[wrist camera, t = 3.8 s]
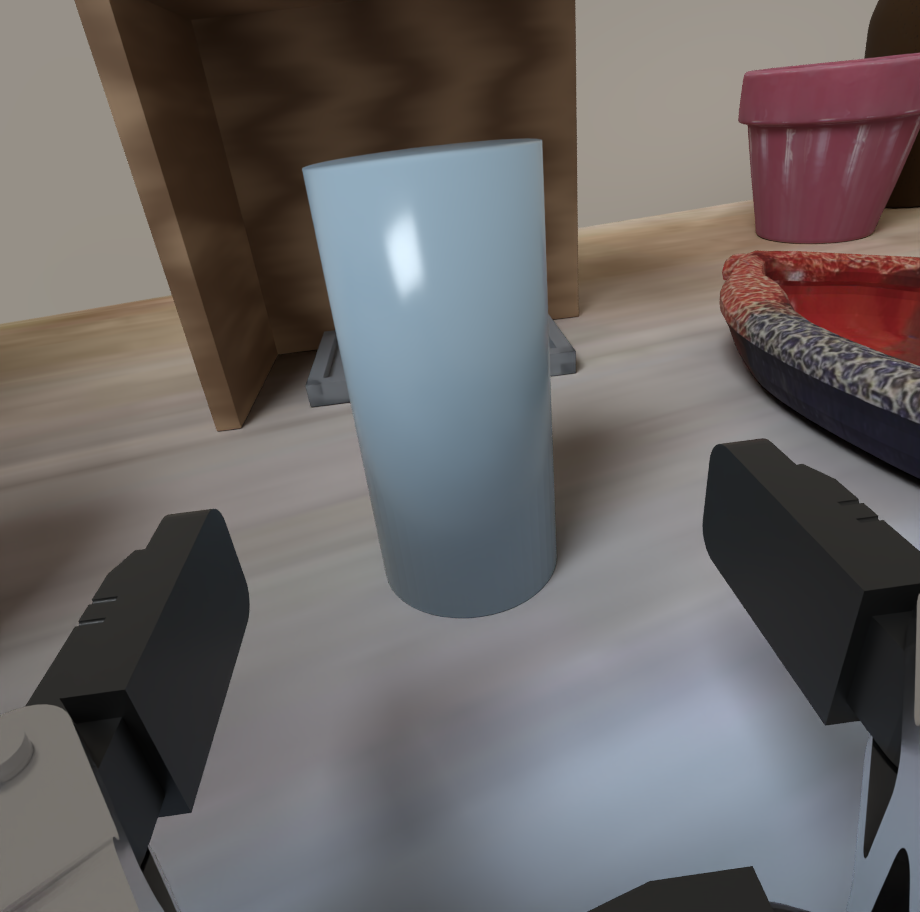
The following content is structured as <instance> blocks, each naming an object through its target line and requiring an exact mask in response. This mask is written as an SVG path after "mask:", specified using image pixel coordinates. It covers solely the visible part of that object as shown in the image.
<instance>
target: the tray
mask: <svg viewBox="0 0 920 912" xmlns="http://www.w3.org/2000/svg"><path fill="white" fill-rule="evenodd" d="M548 324H549V353H550V376H554V375H562V374H570V373H576V351H575V350H574V348H573V347H572V346H571V344H570V343H569V341H568V340H567V339H566V337H565V336H564V335H563V333H562V332H561V330H560V329H559V328H558V326H557V325H556V324H555V322H554V321H553V320H552V318H551V317H550V315H549V314H548ZM306 390H307V394H308V398H309V402H310V406H311V407H315V406H323V405H331V404H338V403H346V402H350V398H349V393H348V389H347V384H346V379H345V374H344V369H343V364H342V360H341V355H340V350H339V345H338V340H337V336H336V331H335V330H333V331H325V332H324V334H323V337H322V339H321V342H320V345H319V348H318V351H317V354H316V357H315V360H314V363H313V366H312V369H311V372H310V375H309V377H308V380H307V383H306Z"/></svg>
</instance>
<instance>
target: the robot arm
mask: <svg viewBox="0 0 920 912" xmlns="http://www.w3.org/2000/svg"><path fill="white" fill-rule="evenodd" d="M703 536H704V541H705V545H706V549H707V551H708V554H709V556H710V558H711V560H712V561H713V563H714V564H715V566H716V567H717V569H718V570H719V572H720V573H721V575H722V576H723V577H724V579H725V580H726V582H727V583H728V585H729V586H730V588H731V589H732V591H733V592H734V593H735V595H736V596H737V598H738V599H739V601H740V602H741V604H742V605H743V607H744V608H745V609H746V611H747V612H748V614H749V615H750V617H751V618H752V620H753V621H754V623H755V624H756V625H757V627H758V628H759V630H760V631H761V633H762V634H763V636H764V637H765V639H766V640H767V641H768V643H769V644H770V646H771V647H772V649H773V650H774V652H775V653H776V655H777V656H778V657H779V659H780V660H781V662H782V663H783V665H784V666H785V668H786V669H787V671H788V672H789V673H790V675H791V676H792V678H793V679H794V681H795V682H796V684H797V685H798V687H799V688H800V689H801V691H802V692H803V694H804V695H805V697H806V698H807V700H808V701H809V703H810V704H811V705H812V707H813V708H814V710H815V711H816V713H817V714H818V716H819V717H820V719H821V720H822V721H823V723H824V724H825V726H826V725H833V724H840V723H847V722H854V721H861V722H862V724H863V725H864V726H865V728H866V729H867V730H868V732H869V733H870V737H869V740H868V742H867V745H866V750H865V757H864V768H863V779H862V789H861V800H860V811H859V821H858V832H857V843H856V854H855V864H854V873H853V880H852V886H851V892H850V896H849V901H848V905H847V909H846V912H920V551H919V550H918V549H916V548H915V547H914V546H913V545H912V544H911V543H909V542H908V541H907V540H906V539H905V538H904V537H902V536H901V535H900V534H899V533H898V532H897V531H895V530H894V529H893V528H892V527H891V526H890V525H888V524H887V523H886V522H885V521H884V520H880V521H879V519H878V515H877V514H875V513H874V512H873V511H872V510H871V509H870V508H868V507H867V506H866V505H865V504H864V503H859V499H858V498H857V497H856V496H854V495H853V494H852V493H851V492H850V491H849V490H847V489H846V488H845V487H844V486H843V485H842V484H840V483H839V482H838V481H837V480H836V479H834V478H832V477H830V476H827V475H825V474H823V473H821V472H819V471H817V470H815V469H812V468H810V467H808V466H806V465H804V464H799V465H796V464H795V463H794V462H793V461H791V460H790V459H789V458H788V457H787V456H786V455H785V454H784V453H783V452H782V451H780V450H779V449H778V448H777V447H776V446H775V445H774V444H773V443H772V442H770V441H769V440H767V439H755V440H747V441H739V442H732V443H724V444H718V445H716V446H715V447H714V448H713V450H712V452H711V455H710V462H709V471H708V480H707V488H706V497H705V506H704V515H703ZM92 601H93V603H92V604H91V605H88V607H87V608H86V610H85V612H84V613H83V615H82V616H81V618H80V620H79V626H77V627H75V628H74V629H73V631H72V632H71V634H70V636H69V637H68V639H67V640H66V642H65V644H64V645H63V647H62V648H61V650H60V652H59V653H58V655H57V656H56V658H55V660H54V661H53V663H52V664H51V666H50V668H49V669H48V671H47V672H46V674H45V676H44V677H43V679H42V680H41V682H40V684H39V685H38V687H37V688H36V690H35V692H34V693H33V695H32V697H31V698H30V700H29V701H28V703H27V705H26V706H25V707H22V708H19V709H15V710H13V711H10V712H8V713H5V714H3V715H1V716H0V912H181V911H180V908H179V906H178V904H177V902H176V900H175V897H174V895H173V893H172V891H171V888H170V886H169V884H168V882H167V880H166V877H165V875H164V873H163V871H162V869H161V866H160V864H159V862H158V860H157V858H156V855H155V853H154V852H153V850H152V848H151V847H150V845H149V842H150V839H151V836H152V833H153V830H154V827H155V824H156V821H157V818H158V817H165V816H172V815H179V814H186V813H191V812H192V809H193V805H194V802H195V798H196V795H197V792H198V788H199V785H200V781H201V778H202V775H203V771H204V768H205V765H206V761H207V758H208V754H209V751H210V748H211V744H212V741H213V737H214V734H215V731H216V727H217V724H218V721H219V717H220V714H221V710H222V707H223V704H224V700H225V697H226V693H227V690H228V687H229V683H230V680H231V677H232V673H233V670H234V666H235V663H236V660H237V656H238V653H239V649H240V646H241V643H242V639H243V636H244V633H245V629H246V626H247V622H248V618H249V592H248V587H247V583H246V580H245V577H244V574H243V571H242V568H241V566H240V563H239V560H238V557H237V554H236V551H235V548H234V546H233V543H232V540H231V537H230V534H229V531H228V529H227V526H226V523H225V520H224V518H223V516H222V514H221V513H220V512H219V511H218V510H217V509H209V510H201V511H193V512H186V513H178V514H170V515H167V516H165V517H164V518H163V519H162V521H161V523H160V524H159V526H158V528H157V530H156V531H155V533H154V535H153V537H152V538H151V540H150V542H149V543H148V545H147V547H146V549H143V550H135V551H134V552H133V553H132V554H130V555H129V556H128V557H127V558H126V559H125V560H124V561H122V562H121V563H120V564H119V565H118V566H117V567H115V568H114V569H113V570H112V571H111V572H110V573H109V574H108V575H107V576H106V578H105V580H104V581H103V583H102V584H101V586H100V588H99V589H98V591H97V592H96V594H95V596H94V597H93V599H92ZM588 912H810V911H806V910H803V909H799V908H795V907H792V906H788V905H785V904H781V903H775V902H769V901H768V898H767V896H766V894H765V892H764V890H763V888H762V886H761V883H760V881H759V879H758V877H757V875H756V873H755V870H754V868H753V866H750V867H743V868H736V869H730V870H723V871H716V872H709V873H702V874H696V875H689V876H682V877H675V878H668V879H662V880H655V881H649V882H647V883H645V884H643V885H641V886H639V887H637V888H635V889H633V890H631V891H629V892H627V893H625V894H623V895H621V896H618V897H616V898H614V899H612V900H610V901H608V902H606V903H604V904H602V905H600V906H598V907H596V908H594V909H592V910H590V911H588Z"/></svg>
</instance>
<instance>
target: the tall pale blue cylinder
mask: <svg viewBox="0 0 920 912" xmlns="http://www.w3.org/2000/svg"><path fill="white" fill-rule="evenodd" d="M302 172H303V176H304V181H305V186H306V191H307V196H308V200H309V205H310V210H311V215H312V220H313V225H314V229H315V234H316V239H317V244H318V249H319V254H320V258H321V263H322V268H323V273H324V278H325V282H326V287H327V292H328V297H329V302H330V307H331V311H332V316H333V321H334V326H335V331H336V336H337V340H338V345H339V350H340V355H341V360H342V364H343V369H344V374H345V379H346V384H347V389H348V393H349V398H350V403H351V408H352V413H353V417H354V422H355V427H356V432H357V437H358V442H359V446H360V451H361V456H362V461H363V466H364V471H365V475H366V480H367V485H368V490H369V495H370V499H371V504H372V509H373V514H374V519H375V524H376V528H377V533H378V538H379V543H380V548H381V553H382V557H383V562H384V567H385V572H386V576H387V580H388V583H389V585H390V587H391V588H392V590H393V591H394V592H395V594H396V595H397V596H398V597H399V598H400V599H402V600H403V601H404V602H405V603H407V604H409V605H410V606H412V607H414V608H416V609H418V610H420V611H423V612H426V613H429V614H433V615H437V616H442V617H452V618H472V617H481V616H487V615H492V614H496V613H499V612H503V611H506V610H508V609H511V608H513V607H516V606H518V605H519V604H521V603H523V602H525V601H527V600H528V599H530V598H531V597H533V596H534V595H535V594H536V593H538V592H539V591H540V590H541V589H542V588H543V587H544V586H545V584H546V583H547V582H548V581H549V579H550V577H551V576H552V574H553V571H554V569H555V566H556V560H557V556H556V527H555V498H554V469H553V440H552V411H551V382H550V353H549V324H548V295H547V266H546V237H545V208H544V178H543V149H542V140H541V139H531V138H524V139H501V140H487V141H475V142H464V143H453V144H444V145H435V146H426V147H417V148H409V149H401V150H394V151H386V152H379V153H372V154H366V155H359V156H353V157H347V158H341V159H336V160H330V161H325V162H321V163H316V164H312V165H309V166H306V167H303V168H302Z"/></svg>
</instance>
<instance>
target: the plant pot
mask: <svg viewBox="0 0 920 912" xmlns="http://www.w3.org/2000/svg"><path fill="white" fill-rule="evenodd" d="M738 120H739V122H740V123H742V124H746V125H748V137H749V151H750V165H751V178H752V190H753V201H754V212H755V226H756V233H757V235H758V236H760V237H762V238H764V239H767V240H772V241H777V242H785V243H800V244H820V243H836V242H845V241H852V240H856V239H861V238H864V237H867V236H869V235H871V234H872V233H873V232H874V230H875V228H876V226H877V223H878V221H879V219H880V217H881V214H882V212H883V210H884V208H885V206H886V204H887V202H888V200H889V198H890V195H891V193H892V191H893V189H894V187H895V185H896V182H897V180H898V178H899V176H900V173H901V171H902V169H903V167H904V164H905V162H906V160H907V157H908V155H909V153H910V151H911V148H912V146H913V144H914V141H915V139H916V136H917V134H918V132H919V129H920V53H913V54H903V55H893V56H885V57H876V58H867V59H858V60H849V61H839V62H829V63H818V64H809V65H799V66H788V67H780V68H771V69H763V70H755V71H749V72H746V73H745V75H744V79H743V85H742V93H741V100H740V108H739V119H738Z"/></svg>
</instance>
